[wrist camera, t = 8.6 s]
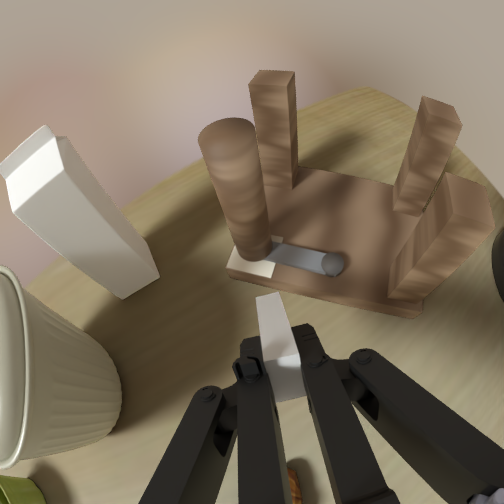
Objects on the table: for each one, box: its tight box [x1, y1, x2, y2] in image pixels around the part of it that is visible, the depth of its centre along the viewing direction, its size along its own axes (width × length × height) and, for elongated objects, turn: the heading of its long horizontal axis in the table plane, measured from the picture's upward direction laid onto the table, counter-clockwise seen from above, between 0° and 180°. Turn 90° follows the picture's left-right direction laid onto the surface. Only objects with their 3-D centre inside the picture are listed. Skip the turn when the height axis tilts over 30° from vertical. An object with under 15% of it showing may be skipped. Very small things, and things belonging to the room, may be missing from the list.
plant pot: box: [0, 475, 46, 504], centre depth 12 cm, size 9×9×9 cm
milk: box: [0, 125, 160, 300], centre depth 23 cm, size 6×6×22 cm
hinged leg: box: [198, 118, 344, 277], centre depth 21 cm, size 11×4×15 cm, turn 71°
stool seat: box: [225, 70, 495, 319], centre depth 24 cm, size 21×16×16 cm
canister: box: [0, 265, 122, 469], centre depth 16 cm, size 18×18×21 cm
